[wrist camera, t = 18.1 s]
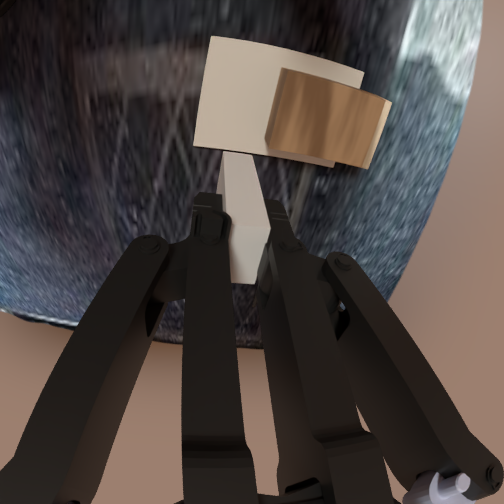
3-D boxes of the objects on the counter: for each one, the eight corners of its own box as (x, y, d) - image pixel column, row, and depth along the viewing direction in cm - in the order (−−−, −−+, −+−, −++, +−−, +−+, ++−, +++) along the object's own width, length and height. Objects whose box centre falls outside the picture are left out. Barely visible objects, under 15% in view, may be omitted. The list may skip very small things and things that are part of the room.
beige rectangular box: (268, 148, 35) (367, 169, 38) (288, 70, 29) (392, 102, 32) (264, 137, 38) (356, 157, 41) (281, 67, 32) (378, 95, 35)
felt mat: (193, 144, 38) (193, 145, 38) (211, 36, 29) (211, 35, 29) (332, 166, 42) (333, 167, 42) (362, 71, 33) (364, 72, 33)
